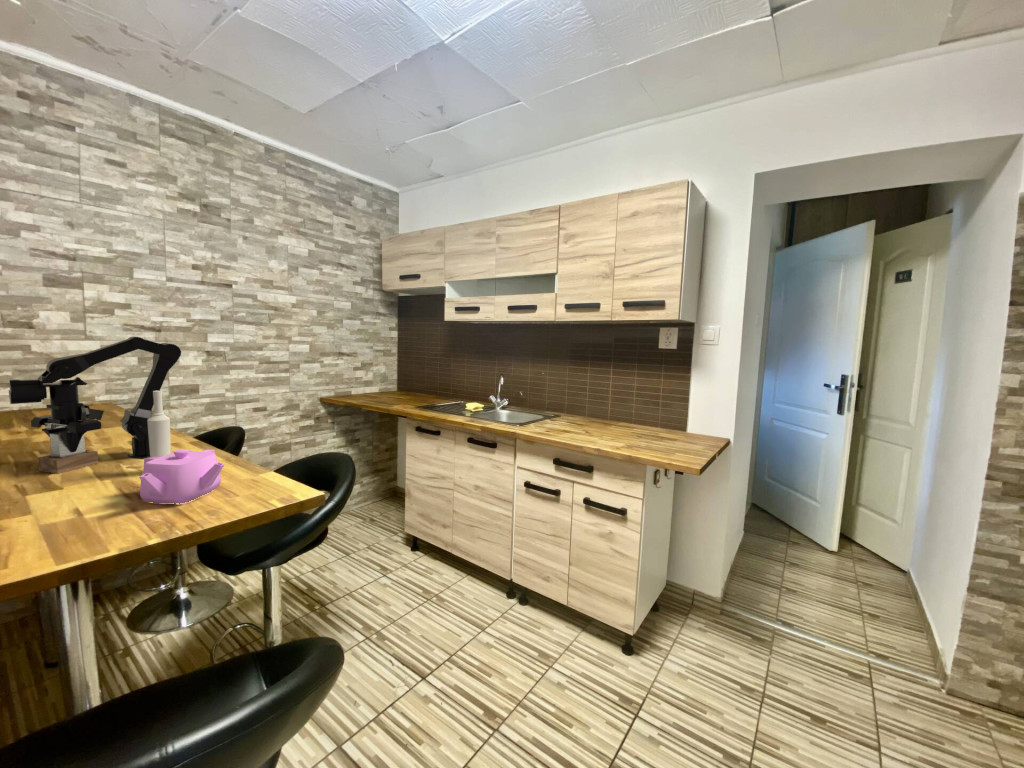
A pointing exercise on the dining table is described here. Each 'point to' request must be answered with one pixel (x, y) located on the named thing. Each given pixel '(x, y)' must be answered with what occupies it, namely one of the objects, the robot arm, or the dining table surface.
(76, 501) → the dining table surface
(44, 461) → the post block
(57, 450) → the light grey squat block
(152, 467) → the teakettle
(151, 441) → the bottle
